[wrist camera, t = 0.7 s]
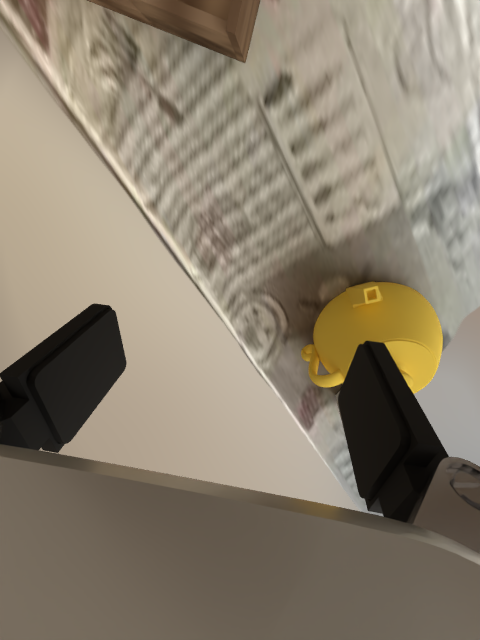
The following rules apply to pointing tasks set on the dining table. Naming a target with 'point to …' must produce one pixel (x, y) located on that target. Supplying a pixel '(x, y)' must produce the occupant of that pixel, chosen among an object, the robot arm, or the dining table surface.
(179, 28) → the lane
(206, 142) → the dining table surface
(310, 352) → the teapot
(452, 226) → the dining table surface
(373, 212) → the dining table surface
